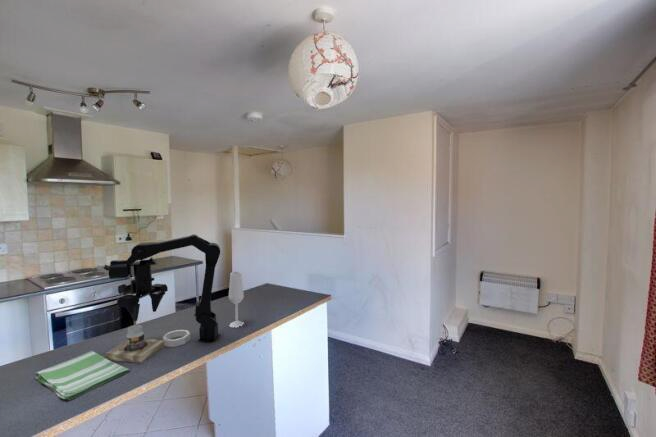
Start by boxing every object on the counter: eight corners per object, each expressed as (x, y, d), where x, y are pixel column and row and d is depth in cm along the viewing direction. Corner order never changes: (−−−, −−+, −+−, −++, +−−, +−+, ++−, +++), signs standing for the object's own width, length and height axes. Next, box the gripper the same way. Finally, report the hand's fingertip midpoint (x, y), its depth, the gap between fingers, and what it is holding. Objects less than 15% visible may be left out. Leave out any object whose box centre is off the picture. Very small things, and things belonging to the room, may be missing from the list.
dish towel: (65, 404, 88) (65, 395, 88) (31, 380, 99) (31, 372, 99) (130, 373, 103) (130, 365, 103) (95, 355, 115) (94, 348, 114)
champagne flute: (241, 320, 146) (240, 270, 144) (246, 325, 141) (245, 273, 139) (227, 323, 142) (226, 272, 141) (231, 328, 137) (230, 275, 135)
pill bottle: (132, 358, 112) (131, 331, 111) (123, 354, 115) (122, 328, 114) (147, 351, 117) (146, 325, 116) (139, 347, 120) (138, 322, 119)
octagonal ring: (194, 336, 129) (194, 330, 129) (180, 347, 120) (180, 341, 120) (173, 334, 131) (173, 329, 130) (158, 345, 121) (157, 339, 121)
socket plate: (164, 346, 121) (163, 340, 120) (141, 362, 109) (141, 356, 109) (131, 343, 123) (131, 337, 122) (106, 359, 111) (105, 353, 111)
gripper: (144, 269, 128) (146, 306, 129) (102, 282, 110) (105, 324, 111) (167, 270, 126) (169, 308, 127) (129, 283, 107) (131, 327, 109)
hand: (145, 316), depth 118 cm, fingers open, 9 cm apart
